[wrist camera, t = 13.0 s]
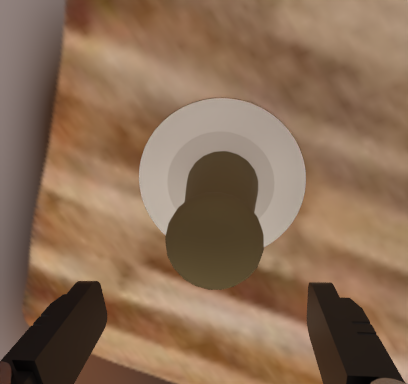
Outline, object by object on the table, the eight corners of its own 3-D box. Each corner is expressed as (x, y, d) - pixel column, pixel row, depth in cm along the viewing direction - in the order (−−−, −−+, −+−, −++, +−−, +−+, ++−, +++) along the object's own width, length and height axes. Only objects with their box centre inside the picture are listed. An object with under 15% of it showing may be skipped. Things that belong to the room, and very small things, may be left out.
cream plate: (306, 90, 22) (309, 90, 21) (300, 250, 26) (302, 257, 25) (130, 104, 23) (126, 105, 23) (153, 252, 28) (150, 258, 27)
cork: (178, 159, 24) (134, 211, 13) (251, 143, 22) (265, 187, 12) (196, 224, 25) (168, 315, 15) (264, 213, 24) (284, 302, 14)
